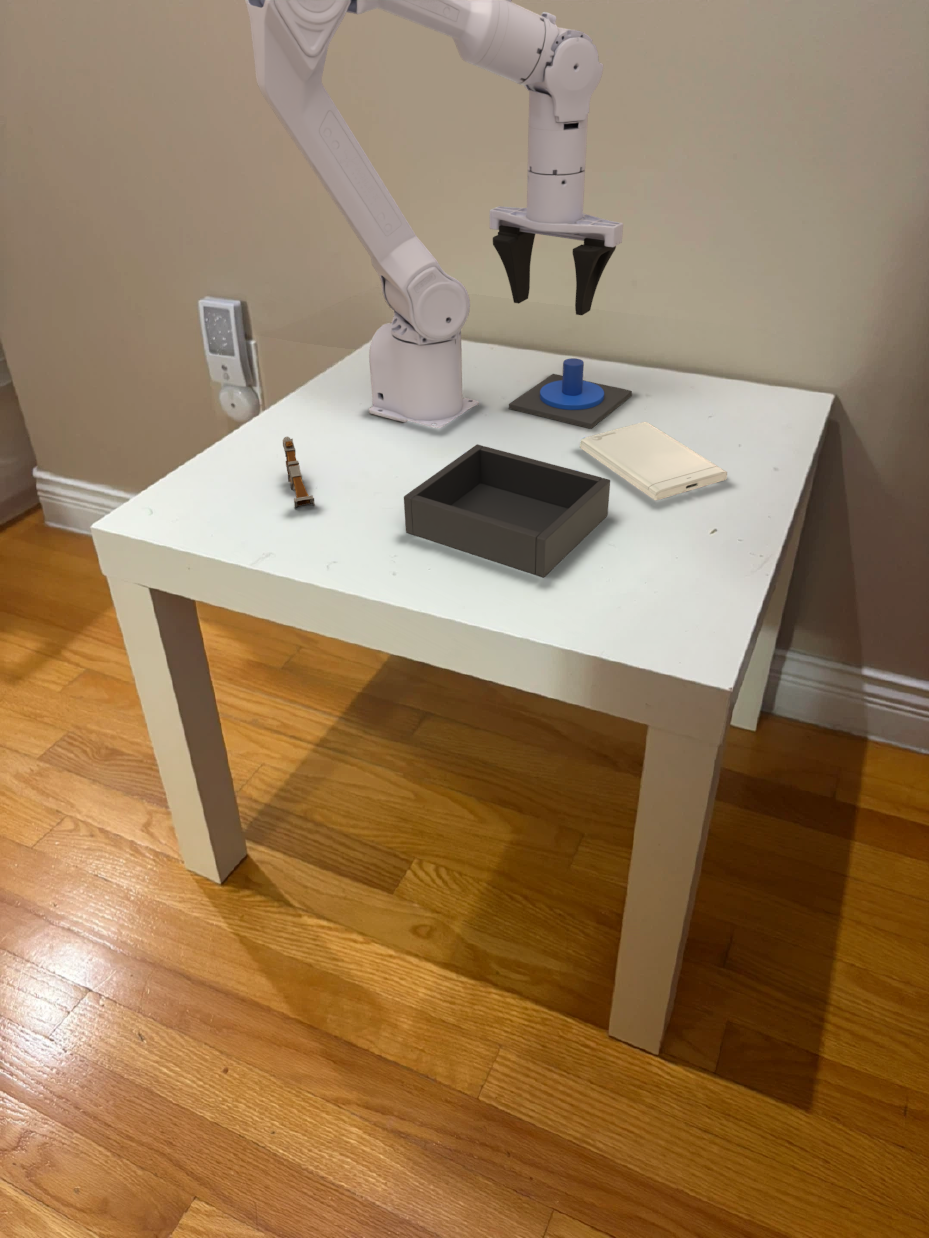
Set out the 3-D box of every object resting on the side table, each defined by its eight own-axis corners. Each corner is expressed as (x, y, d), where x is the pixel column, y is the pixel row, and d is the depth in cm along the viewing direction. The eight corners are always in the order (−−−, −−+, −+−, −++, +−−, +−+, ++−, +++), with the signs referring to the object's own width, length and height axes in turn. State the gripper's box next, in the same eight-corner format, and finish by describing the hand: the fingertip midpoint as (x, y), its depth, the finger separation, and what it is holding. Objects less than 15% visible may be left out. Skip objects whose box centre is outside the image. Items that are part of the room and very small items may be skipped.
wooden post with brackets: (297, 461, 93) (295, 430, 89) (315, 526, 89) (314, 496, 86) (278, 464, 93) (276, 432, 89) (296, 530, 89) (294, 500, 85)
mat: (508, 409, 105) (508, 403, 104) (552, 378, 111) (552, 373, 111) (591, 429, 100) (591, 423, 100) (631, 395, 107) (632, 390, 106)
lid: (530, 404, 104) (531, 369, 102) (551, 381, 109) (553, 346, 107) (593, 414, 102) (595, 378, 99) (611, 389, 107) (614, 354, 104)
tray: (405, 538, 83) (403, 496, 81) (477, 483, 91) (476, 443, 88) (543, 583, 77) (545, 540, 75) (607, 521, 85) (610, 479, 82)
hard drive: (580, 438, 95) (656, 489, 86) (647, 420, 98) (728, 468, 89) (579, 453, 96) (654, 506, 87) (646, 435, 99) (726, 484, 90)
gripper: (640, 169, 94) (629, 307, 102) (514, 155, 101) (513, 286, 109) (608, 183, 90) (599, 326, 98) (478, 168, 96) (479, 303, 104)
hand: (551, 306), depth 103 cm, fingers open, 7 cm apart
